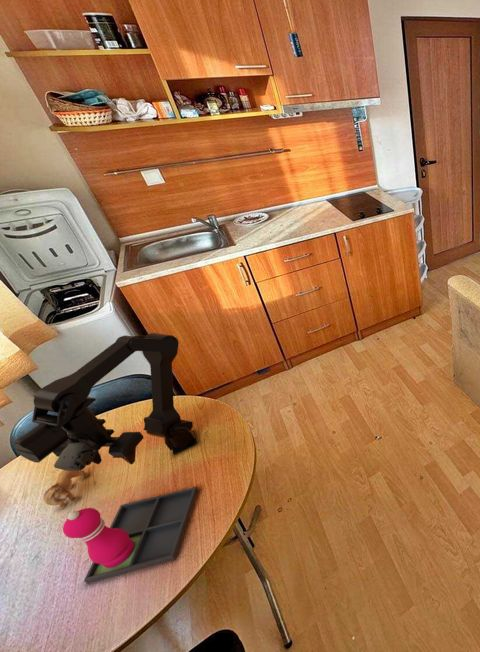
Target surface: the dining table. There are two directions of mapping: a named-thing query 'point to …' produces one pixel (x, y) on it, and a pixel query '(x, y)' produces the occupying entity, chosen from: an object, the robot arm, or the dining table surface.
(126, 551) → the pepper mill
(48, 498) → the lion figurine
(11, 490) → the dining table surface
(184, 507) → the grid
